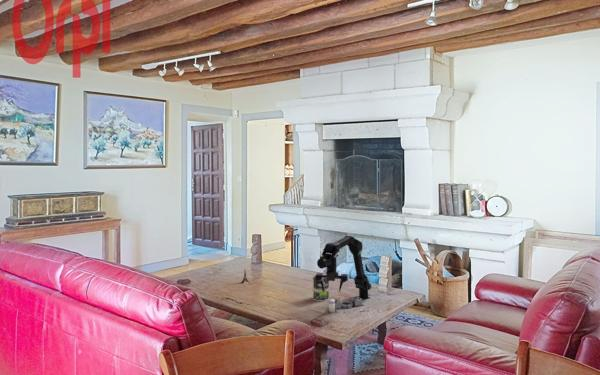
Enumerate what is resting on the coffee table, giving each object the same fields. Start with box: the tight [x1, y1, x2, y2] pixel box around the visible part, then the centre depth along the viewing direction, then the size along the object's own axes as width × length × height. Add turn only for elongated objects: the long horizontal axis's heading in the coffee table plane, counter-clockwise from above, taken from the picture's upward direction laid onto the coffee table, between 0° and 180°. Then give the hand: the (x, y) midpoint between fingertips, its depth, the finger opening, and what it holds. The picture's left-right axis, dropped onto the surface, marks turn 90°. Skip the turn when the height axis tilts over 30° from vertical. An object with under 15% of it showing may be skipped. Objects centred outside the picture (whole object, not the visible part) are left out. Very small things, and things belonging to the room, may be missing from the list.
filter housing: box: [335, 297, 365, 311], centre depth 278 cm, size 8×21×4 cm, turn 112°
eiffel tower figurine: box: [241, 270, 250, 285], centre depth 332 cm, size 15×10×13 cm
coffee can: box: [312, 275, 330, 302], centre depth 293 cm, size 10×10×14 cm
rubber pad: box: [325, 309, 339, 315], centre depth 268 cm, size 6×6×1 cm
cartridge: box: [328, 298, 335, 314], centre depth 268 cm, size 4×4×7 cm
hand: (331, 291), depth 268 cm, fingers open, 9 cm apart
